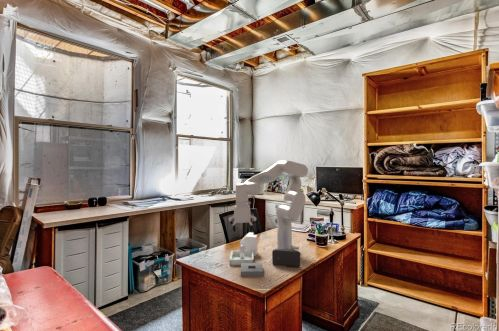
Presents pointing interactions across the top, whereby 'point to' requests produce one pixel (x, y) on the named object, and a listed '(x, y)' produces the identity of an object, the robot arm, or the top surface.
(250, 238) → the corner bracket
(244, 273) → the grey square hole plate
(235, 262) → the parts tray
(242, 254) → the pin
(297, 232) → the top surface
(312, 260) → the top surface
